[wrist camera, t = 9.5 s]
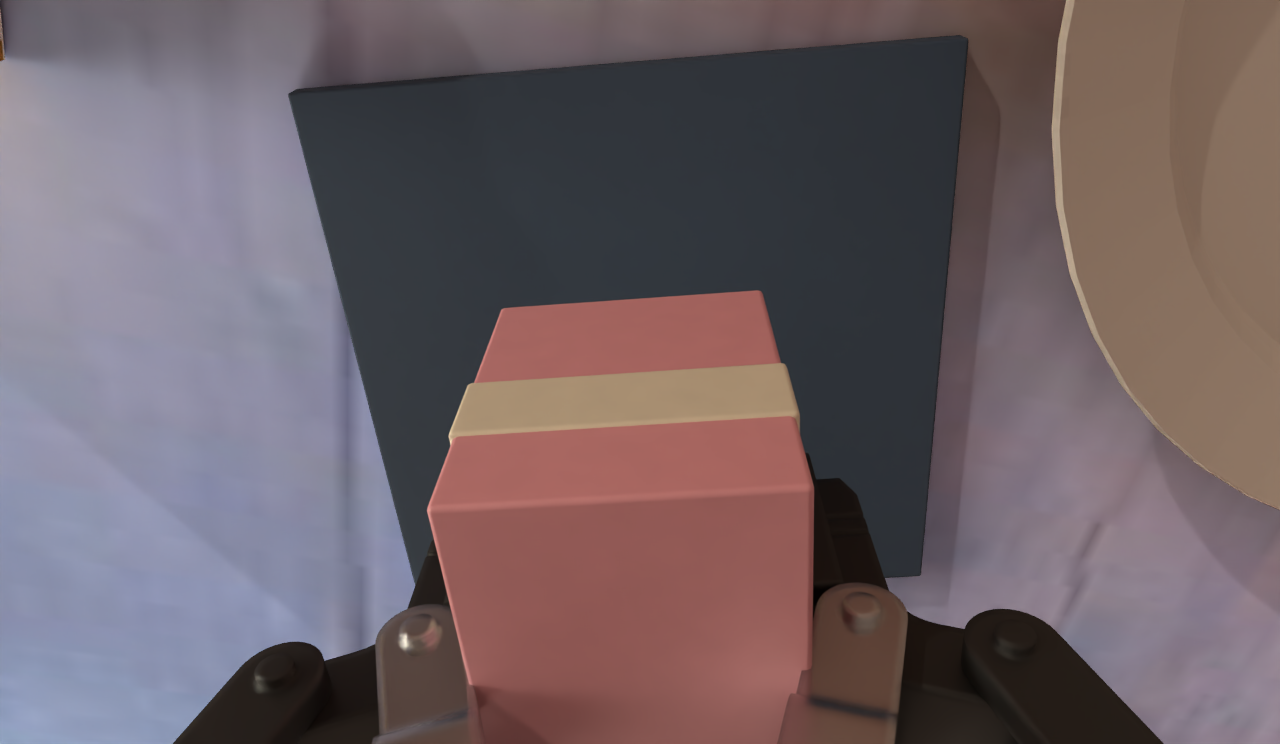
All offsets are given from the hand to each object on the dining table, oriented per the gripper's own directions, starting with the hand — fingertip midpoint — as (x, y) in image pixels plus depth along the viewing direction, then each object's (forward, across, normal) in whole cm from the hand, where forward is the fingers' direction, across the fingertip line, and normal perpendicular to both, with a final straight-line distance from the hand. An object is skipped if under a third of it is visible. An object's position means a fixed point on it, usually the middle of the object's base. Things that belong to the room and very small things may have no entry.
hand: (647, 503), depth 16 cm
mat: (+6, 0, 0) cm, 6 cm away
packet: (0, 0, 0) cm, 0 cm away
